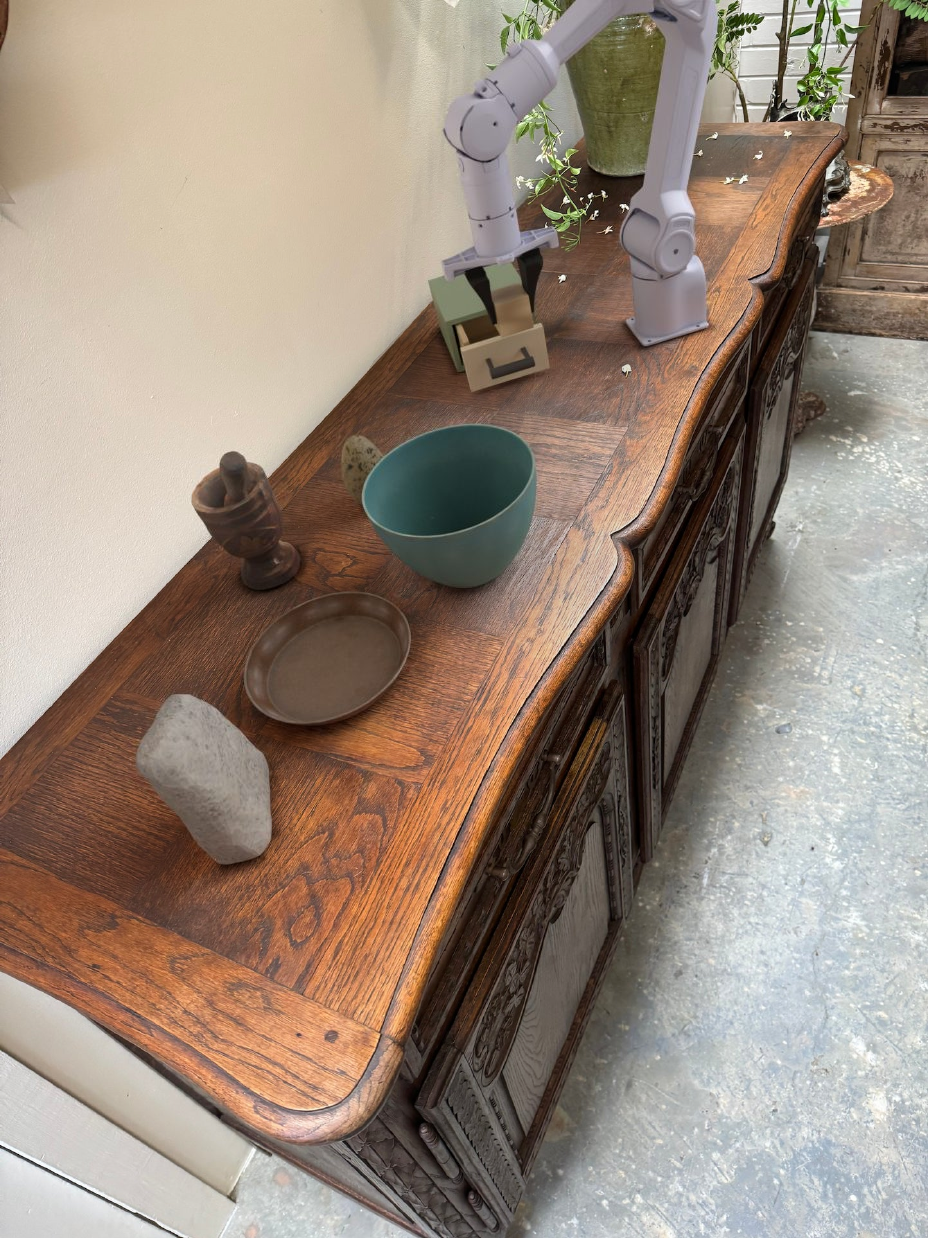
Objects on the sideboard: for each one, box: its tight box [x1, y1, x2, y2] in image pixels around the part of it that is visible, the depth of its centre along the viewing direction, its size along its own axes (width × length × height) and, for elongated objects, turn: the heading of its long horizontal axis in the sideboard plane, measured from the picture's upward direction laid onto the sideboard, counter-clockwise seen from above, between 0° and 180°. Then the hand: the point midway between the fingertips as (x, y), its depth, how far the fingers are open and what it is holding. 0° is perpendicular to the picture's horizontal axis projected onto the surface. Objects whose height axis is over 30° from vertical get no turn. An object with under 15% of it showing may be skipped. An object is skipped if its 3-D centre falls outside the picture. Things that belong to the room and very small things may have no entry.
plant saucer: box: [243, 591, 412, 726], centre depth 86 cm, size 18×18×3 cm
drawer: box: [452, 314, 550, 393], centre depth 117 cm, size 18×11×6 cm, turn 12°
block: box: [491, 282, 534, 338], centre depth 109 cm, size 4×4×4 cm
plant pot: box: [362, 423, 538, 589], centre depth 90 cm, size 18×18×12 cm
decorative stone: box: [134, 693, 273, 865], centre depth 72 cm, size 11×6×15 cm, turn 5°
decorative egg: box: [340, 434, 385, 507], centre depth 102 cm, size 6×6×10 cm
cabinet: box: [427, 262, 537, 373], centre depth 125 cm, size 15×13×8 cm
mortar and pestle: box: [191, 450, 301, 591], centre depth 93 cm, size 12×9×20 cm
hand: (511, 315), depth 109 cm, fingers closed on block, 4 cm apart
